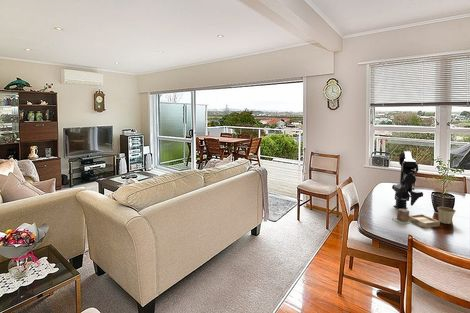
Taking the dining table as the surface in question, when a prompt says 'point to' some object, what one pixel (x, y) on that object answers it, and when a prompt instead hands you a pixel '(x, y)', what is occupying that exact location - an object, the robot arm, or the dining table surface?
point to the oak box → (424, 221)
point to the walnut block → (402, 215)
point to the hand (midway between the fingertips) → (405, 203)
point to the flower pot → (445, 214)
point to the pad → (402, 222)
